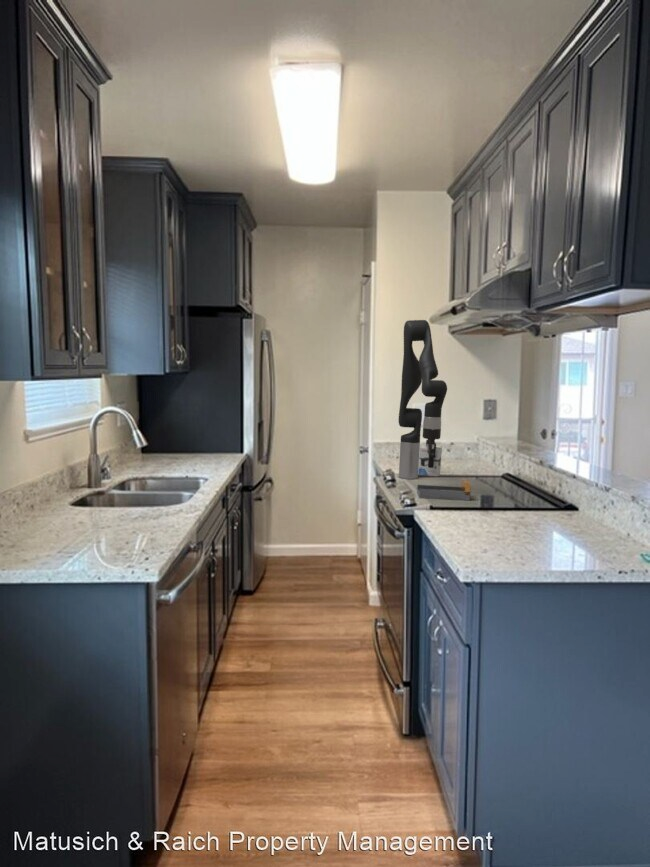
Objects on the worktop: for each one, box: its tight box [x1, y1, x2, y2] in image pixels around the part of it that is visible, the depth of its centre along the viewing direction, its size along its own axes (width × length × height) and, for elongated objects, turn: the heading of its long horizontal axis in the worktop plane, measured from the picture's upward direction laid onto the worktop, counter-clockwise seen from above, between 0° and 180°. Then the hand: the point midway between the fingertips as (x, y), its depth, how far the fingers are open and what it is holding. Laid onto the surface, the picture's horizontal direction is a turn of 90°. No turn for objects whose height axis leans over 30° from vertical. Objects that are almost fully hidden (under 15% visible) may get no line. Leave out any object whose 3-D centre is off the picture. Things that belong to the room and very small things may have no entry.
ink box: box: [418, 445, 443, 477], centre depth 256 cm, size 8×5×12 cm, turn 63°
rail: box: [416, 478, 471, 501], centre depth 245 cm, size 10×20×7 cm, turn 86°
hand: (429, 465), depth 256 cm, fingers closed on ink box, 6 cm apart
